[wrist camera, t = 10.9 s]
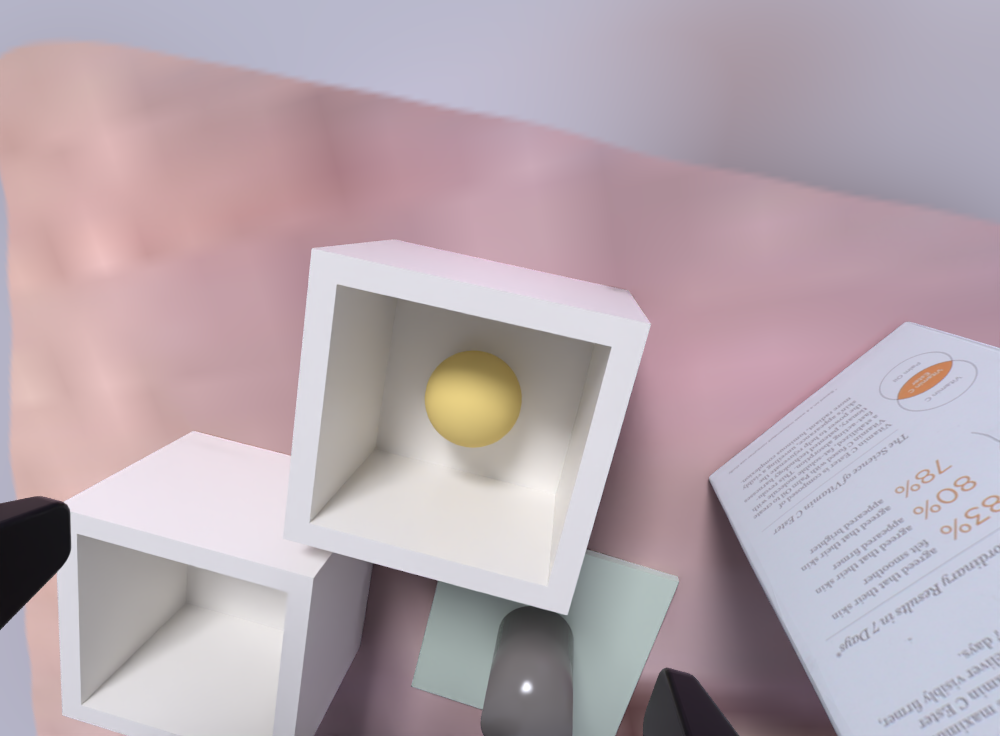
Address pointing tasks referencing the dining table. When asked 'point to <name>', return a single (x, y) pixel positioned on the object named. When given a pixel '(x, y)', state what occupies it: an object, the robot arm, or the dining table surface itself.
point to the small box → (885, 535)
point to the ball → (473, 399)
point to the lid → (547, 651)
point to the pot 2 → (430, 457)
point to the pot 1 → (202, 600)
